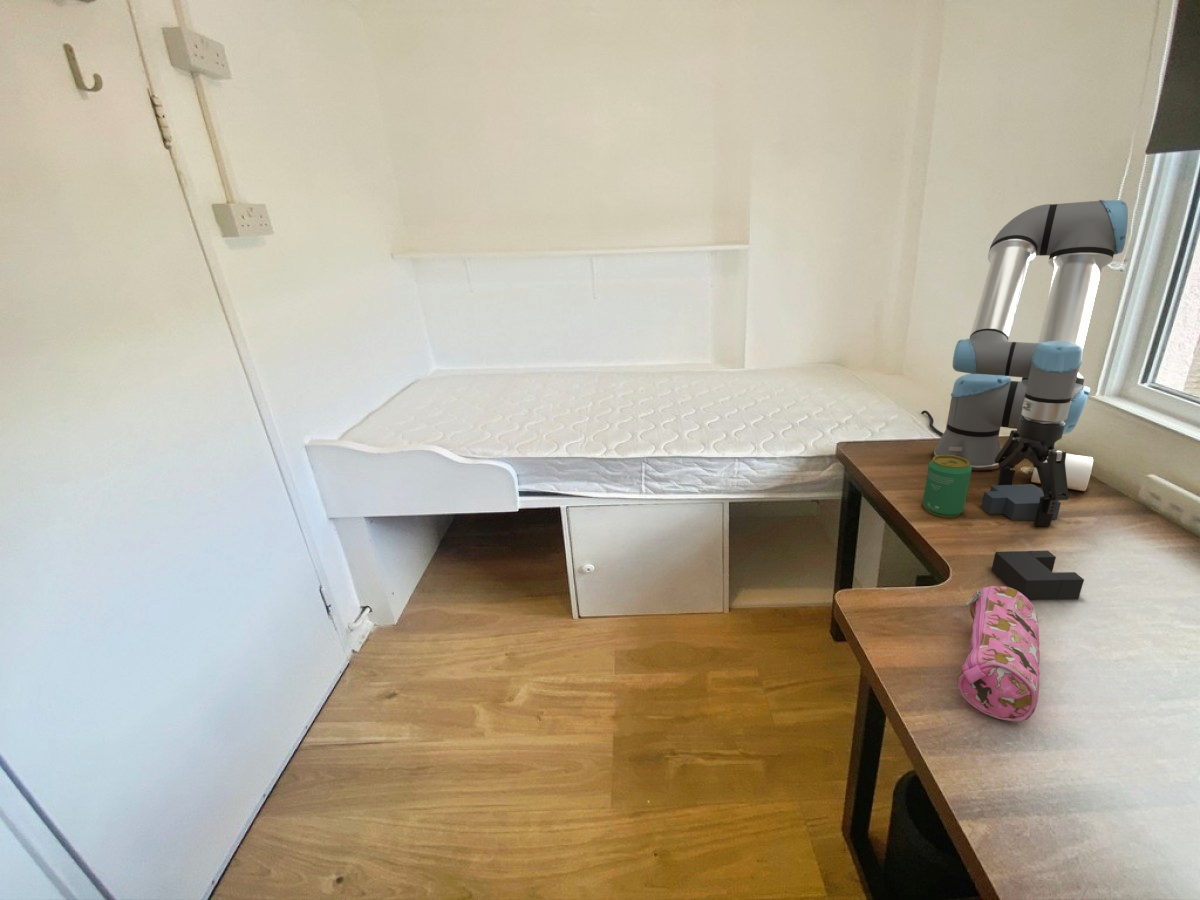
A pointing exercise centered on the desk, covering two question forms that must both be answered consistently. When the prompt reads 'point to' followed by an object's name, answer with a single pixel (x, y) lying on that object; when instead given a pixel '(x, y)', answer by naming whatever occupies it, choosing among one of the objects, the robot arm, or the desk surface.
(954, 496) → the beverage can
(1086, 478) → the white cylinder on side
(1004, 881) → the desk surface
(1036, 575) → the black u-shaped block
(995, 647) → the pencil case
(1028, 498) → the grey block
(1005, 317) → the robot arm
